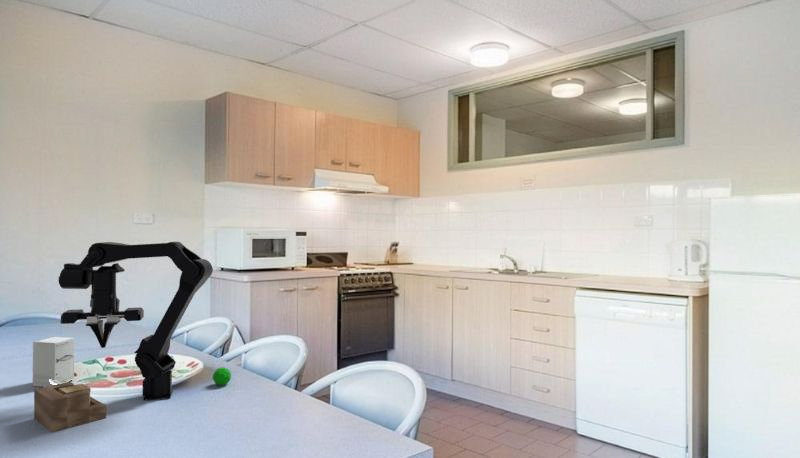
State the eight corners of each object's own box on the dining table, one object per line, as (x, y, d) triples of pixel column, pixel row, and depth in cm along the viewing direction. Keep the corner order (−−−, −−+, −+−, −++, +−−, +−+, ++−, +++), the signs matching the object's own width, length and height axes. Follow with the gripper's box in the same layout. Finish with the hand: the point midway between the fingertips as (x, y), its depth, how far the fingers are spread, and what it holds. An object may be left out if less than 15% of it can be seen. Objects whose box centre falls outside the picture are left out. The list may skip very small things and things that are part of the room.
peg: (82, 411, 129) (82, 383, 129) (90, 416, 126) (90, 387, 126) (58, 417, 125) (58, 388, 125) (66, 423, 122) (66, 393, 122)
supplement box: (53, 388, 147) (54, 343, 146) (31, 386, 148) (31, 341, 148) (75, 380, 154) (75, 337, 154) (53, 378, 155) (53, 336, 155)
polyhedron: (208, 385, 150) (209, 369, 150) (220, 381, 155) (221, 365, 155) (223, 388, 148) (223, 371, 148) (234, 383, 153) (234, 367, 153)
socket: (86, 406, 133) (86, 378, 133) (105, 417, 125) (106, 388, 125) (34, 418, 124) (34, 389, 124) (52, 432, 116) (52, 400, 116)
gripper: (146, 284, 151) (146, 339, 151) (72, 286, 145) (72, 342, 145) (140, 289, 140) (140, 348, 140) (60, 291, 134) (59, 352, 135)
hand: (103, 347), depth 140 cm, fingers closed
